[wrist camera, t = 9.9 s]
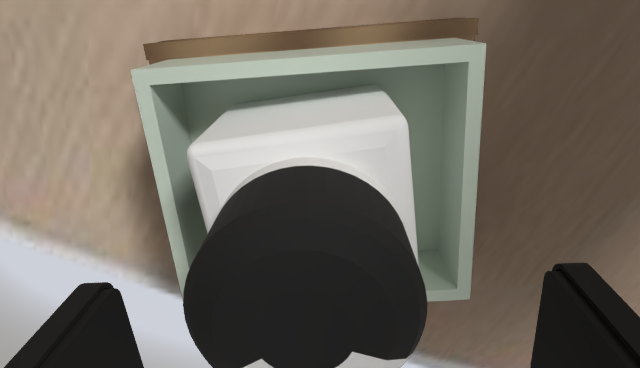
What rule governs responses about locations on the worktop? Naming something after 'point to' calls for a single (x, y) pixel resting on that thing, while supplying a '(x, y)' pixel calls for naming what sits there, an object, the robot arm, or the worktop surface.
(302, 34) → the brown wooden flat block
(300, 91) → the sage crate
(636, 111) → the worktop surface
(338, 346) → the medicine bottle
